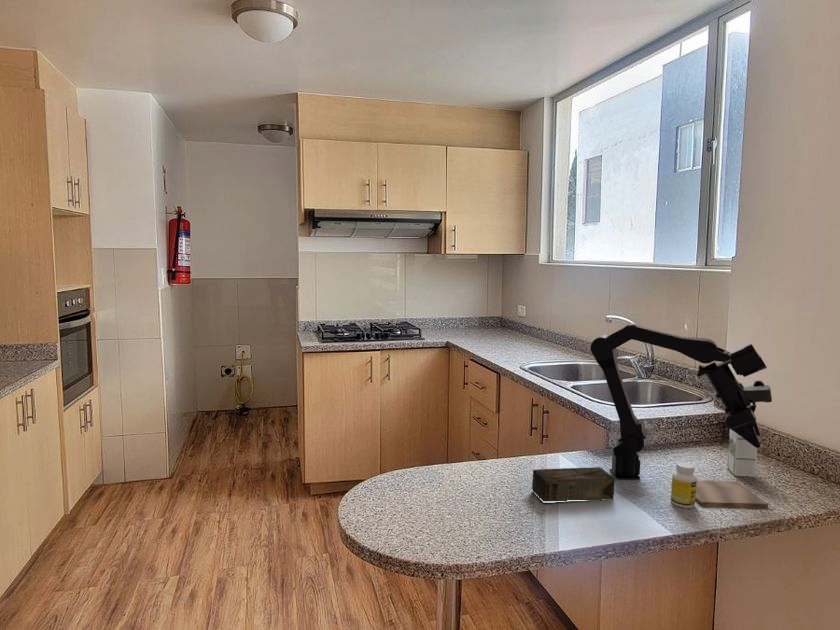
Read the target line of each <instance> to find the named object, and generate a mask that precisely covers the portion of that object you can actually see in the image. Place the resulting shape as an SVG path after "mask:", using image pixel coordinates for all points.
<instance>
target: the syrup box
mask: <svg viewBox="0 0 840 630" xmlns="http://www.w3.org/2000/svg"><path fill="white" fill-rule="evenodd" d="M757 437H758V438H759V436H757ZM728 442H729V443H728V454H727V458H728V459H727V470H729V471H730V473H731V474H732V475H734V476H736V477H742V476H748V477H747V478H756V477H757V475H756V474H757V473H756V472H757V461H758V460H757V459H758V458H757V457H758V448H756V447H754V446H753V445H752V444H750V443H749V442H748V441H746V440H745V439H744V438H742V437H741V436H740V435H738V434H737V433H736V432H734V431H732V430H731V429H729V439H728Z"/></svg>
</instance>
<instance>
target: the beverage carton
mask: <svg viewBox="0 0 840 630" xmlns="http://www.w3.org/2000/svg"><path fill="white" fill-rule="evenodd" d="M615 481H616V478H615V477H614V475H612V474H610V473H608V471H606V470H605V469H604V468H603V467H601V466H600V467H599V466H598V467H597V466H596V467H569V468H568V467H567V468H565V467H564V468H541V469H540V468H539V469H533V471H532V482H531V483H532V484H531V485H532V486H531V490H532V489H533V491H534V492H535V493H536V494H537V495H538V496H539V498H541V499H542V500H543V501H567V500H600V501H603V500H602V499H612V500H614V495H615Z"/></svg>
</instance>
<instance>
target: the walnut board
mask: <svg viewBox="0 0 840 630" xmlns="http://www.w3.org/2000/svg"><path fill="white" fill-rule="evenodd" d="M695 503H697V504H698V505H699V506H701V507H724V508H725V507H727V508H756V509H757V508H759V509H760V508H761V509H763V508H764V509H768V508H769V503H768V502H766V501H765V500H764V499H762V498H761V497H760V496H758V495H757V494H755V493H754V492H753V491H751V490H750V489H748V488H747V487H745V486H744V485H743V484H741V483H740V482H738V481H735V480H734V481H732V480H731V481H730V480H700V479H699V480H698V479H697V483H696V496H695Z"/></svg>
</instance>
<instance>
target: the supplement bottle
mask: <svg viewBox="0 0 840 630" xmlns="http://www.w3.org/2000/svg"><path fill="white" fill-rule="evenodd" d="M675 469H676V470H675V471H674V472H673V473H672V475H671V476H672V477H671V490H670V502H671V503H672V504H673V505H674V506H676V507H680V508H685V509H692V508H694V507H695V506H696V501H695V496H696V483H697V480H698V478H697V475H695V465H693V464H692V463H688V462H681V461H680V462H676V467H675Z"/></svg>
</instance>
